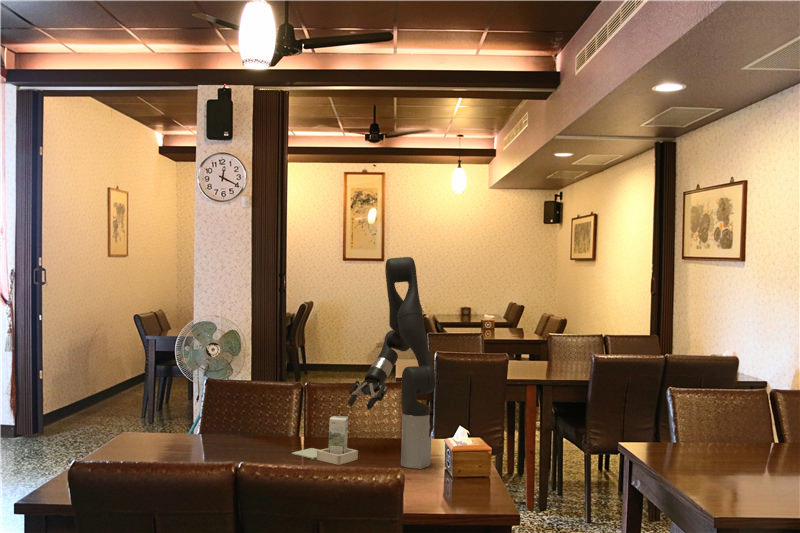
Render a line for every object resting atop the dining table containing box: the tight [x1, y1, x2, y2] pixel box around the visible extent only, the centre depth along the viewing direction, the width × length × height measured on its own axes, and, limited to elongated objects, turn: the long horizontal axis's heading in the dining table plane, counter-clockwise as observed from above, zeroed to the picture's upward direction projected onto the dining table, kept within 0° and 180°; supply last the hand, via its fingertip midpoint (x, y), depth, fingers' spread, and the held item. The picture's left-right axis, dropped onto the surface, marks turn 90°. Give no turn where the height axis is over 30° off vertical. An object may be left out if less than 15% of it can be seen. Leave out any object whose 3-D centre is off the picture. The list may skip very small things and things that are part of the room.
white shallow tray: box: [291, 447, 359, 466], centre depth 215 cm, size 22×13×3 cm, turn 55°
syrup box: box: [327, 415, 349, 455], centre depth 212 cm, size 6×6×14 cm
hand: (358, 406), depth 221 cm, fingers open, 8 cm apart
